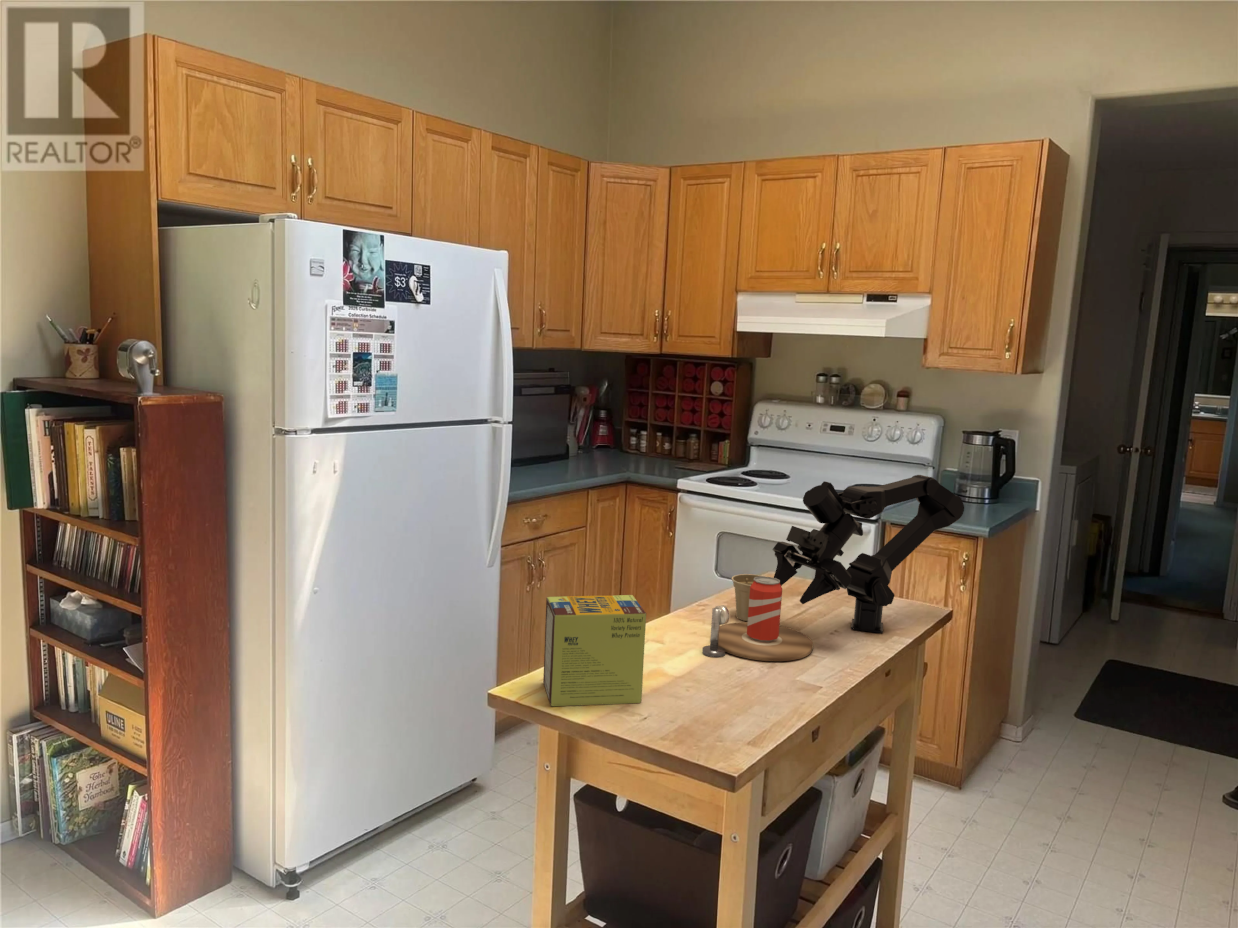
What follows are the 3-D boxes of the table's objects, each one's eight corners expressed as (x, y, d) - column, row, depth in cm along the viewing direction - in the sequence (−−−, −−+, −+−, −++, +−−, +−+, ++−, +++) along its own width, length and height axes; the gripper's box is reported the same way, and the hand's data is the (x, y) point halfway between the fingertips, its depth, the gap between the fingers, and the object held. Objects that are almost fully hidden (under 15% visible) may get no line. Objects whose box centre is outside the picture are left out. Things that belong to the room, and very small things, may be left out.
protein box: (642, 703, 149) (647, 612, 147) (550, 707, 146) (553, 614, 143) (628, 679, 159) (633, 594, 157) (541, 682, 156) (545, 595, 153)
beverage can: (755, 630, 184) (759, 573, 183) (783, 638, 181) (788, 580, 179) (740, 637, 180) (745, 579, 178) (769, 645, 176) (774, 586, 174)
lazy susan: (720, 621, 192) (720, 616, 192) (816, 634, 187) (816, 629, 187) (702, 651, 173) (702, 647, 173) (808, 667, 168) (808, 662, 168)
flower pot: (741, 608, 203) (744, 571, 202) (780, 617, 198) (783, 579, 196) (721, 618, 195) (723, 579, 194) (760, 628, 190) (763, 588, 189)
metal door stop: (710, 658, 171) (713, 611, 169) (697, 650, 175) (700, 604, 173) (729, 655, 173) (733, 608, 171) (716, 647, 177) (719, 602, 175)
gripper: (782, 503, 189) (736, 559, 186) (844, 522, 173) (795, 584, 170) (809, 536, 194) (765, 592, 191) (871, 557, 178) (825, 619, 175)
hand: (786, 595), depth 181 cm, fingers open, 9 cm apart
